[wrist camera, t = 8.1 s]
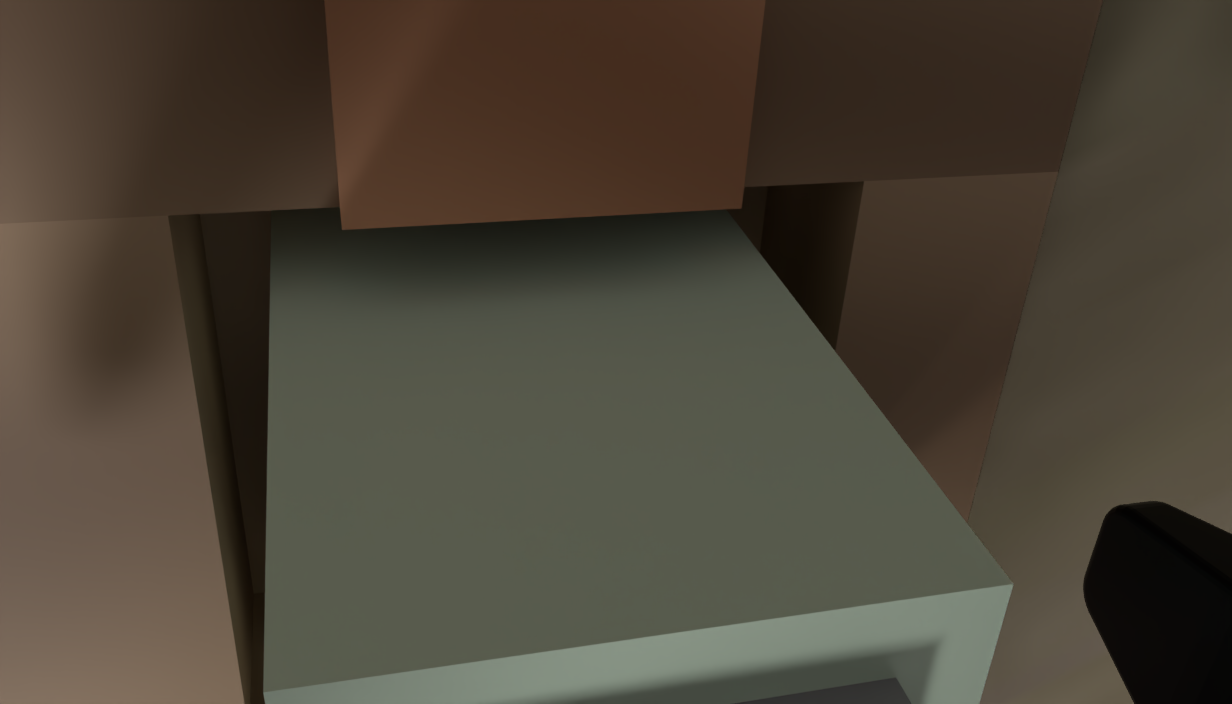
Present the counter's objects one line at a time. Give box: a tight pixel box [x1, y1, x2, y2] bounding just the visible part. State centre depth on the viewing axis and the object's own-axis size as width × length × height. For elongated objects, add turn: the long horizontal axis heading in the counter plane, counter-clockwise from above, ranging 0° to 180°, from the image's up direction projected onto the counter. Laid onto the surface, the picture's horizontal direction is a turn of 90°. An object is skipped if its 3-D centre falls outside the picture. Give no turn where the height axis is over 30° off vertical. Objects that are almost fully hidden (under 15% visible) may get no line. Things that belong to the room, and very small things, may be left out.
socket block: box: [0, 0, 1103, 704], centre depth 10 cm, size 10×18×3 cm, turn 87°
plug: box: [263, 207, 1013, 704], centre depth 9 cm, size 4×4×6 cm
